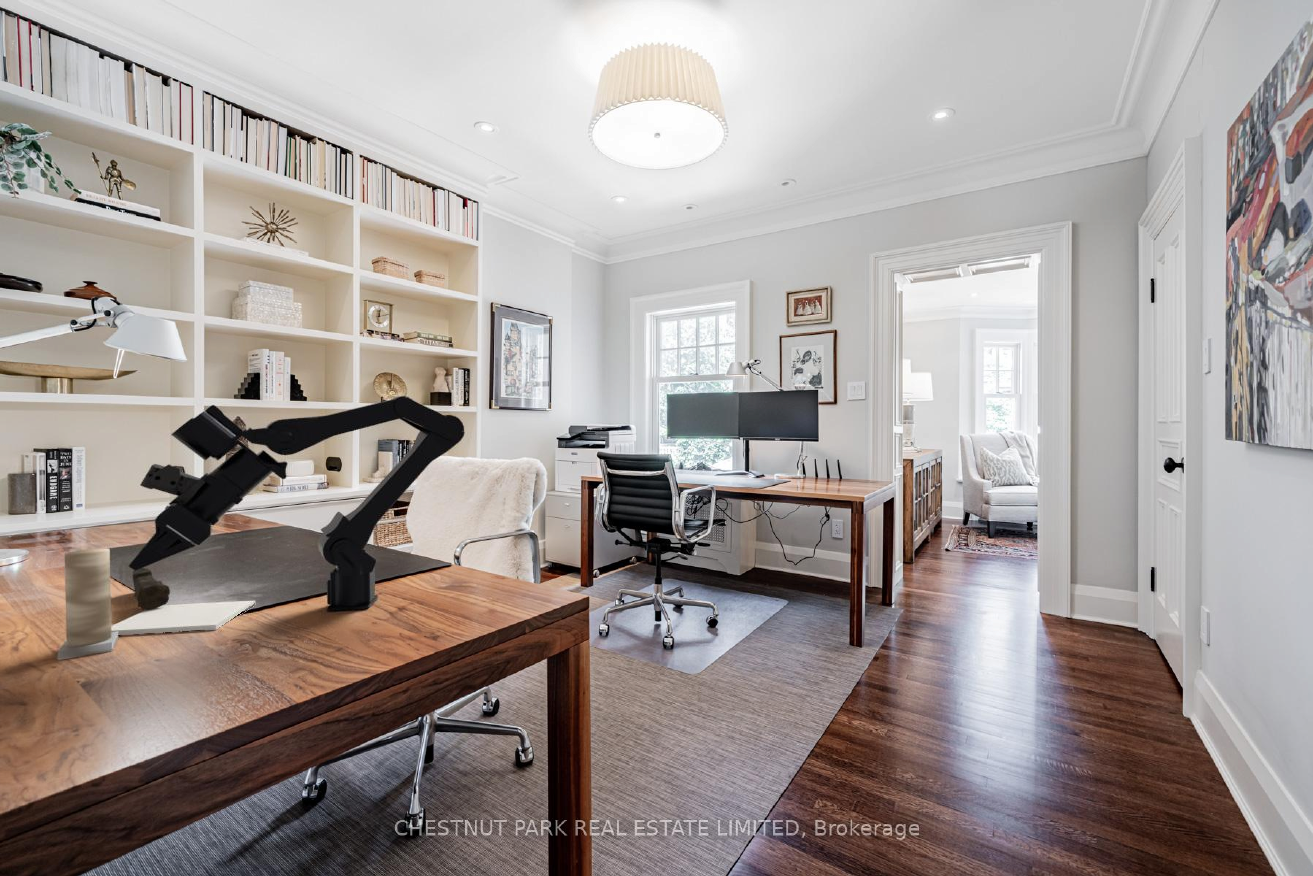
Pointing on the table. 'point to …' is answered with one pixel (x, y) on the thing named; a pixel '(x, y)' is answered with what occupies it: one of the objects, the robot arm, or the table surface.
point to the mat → (181, 618)
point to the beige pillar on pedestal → (87, 604)
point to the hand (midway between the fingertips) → (136, 561)
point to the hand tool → (149, 590)
